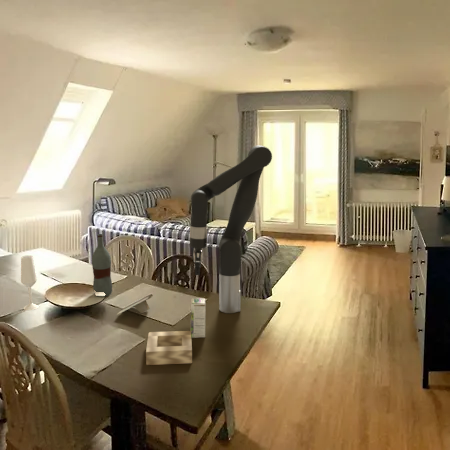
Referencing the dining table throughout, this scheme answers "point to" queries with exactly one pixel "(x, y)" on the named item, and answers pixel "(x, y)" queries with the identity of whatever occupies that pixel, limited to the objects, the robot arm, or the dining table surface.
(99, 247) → the bottle
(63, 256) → the dining table surface
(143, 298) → the grey slanted panel
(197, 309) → the syrup box
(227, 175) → the robot arm
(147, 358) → the well block
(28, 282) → the champagne flute
